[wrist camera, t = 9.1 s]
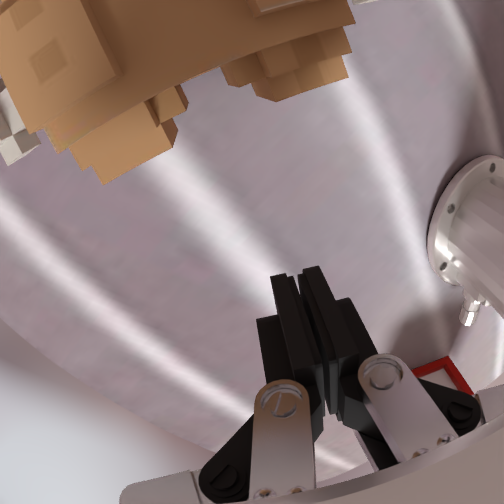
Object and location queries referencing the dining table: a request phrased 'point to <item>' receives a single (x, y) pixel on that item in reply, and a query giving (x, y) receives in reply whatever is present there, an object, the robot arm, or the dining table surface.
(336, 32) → the voxel meat on bone
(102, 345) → the dining table surface
